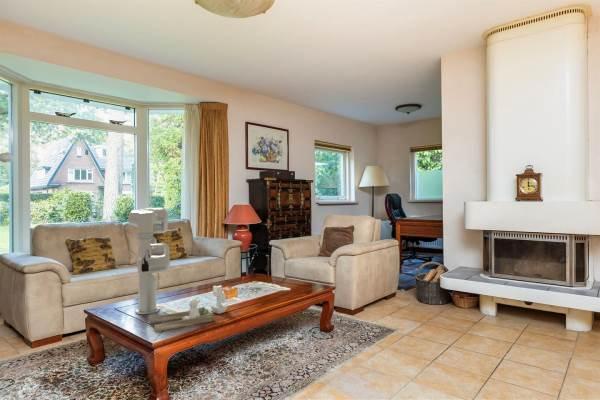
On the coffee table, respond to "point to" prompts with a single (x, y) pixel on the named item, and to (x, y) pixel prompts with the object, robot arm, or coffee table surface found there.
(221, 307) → the figurine
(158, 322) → the mats
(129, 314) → the coffee table surface
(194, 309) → the sitting furry creature
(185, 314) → the lane
